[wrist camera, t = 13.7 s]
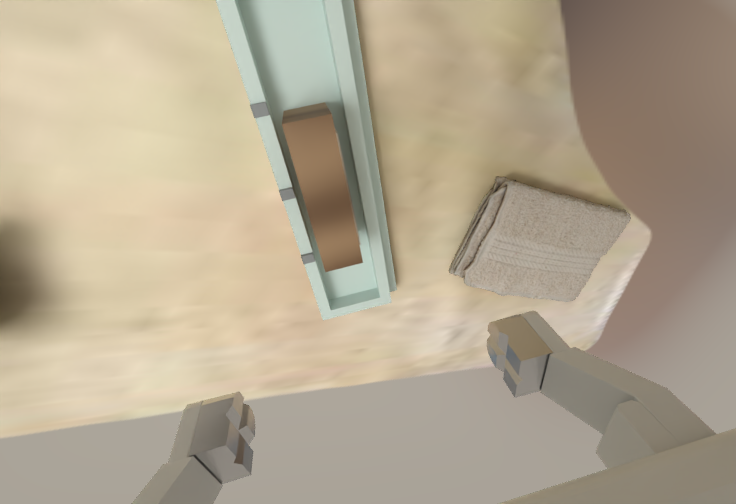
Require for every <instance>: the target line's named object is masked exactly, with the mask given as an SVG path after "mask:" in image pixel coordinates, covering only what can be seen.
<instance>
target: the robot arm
mask: <svg viewBox="0 0 736 504" xmlns="http://www.w3.org/2000/svg"><path fill="white" fill-rule="evenodd" d="M488 332H489V333H490V337H489V338H488V339H487V349H488V353H489V356H490V358H491V360H492V362H493V364H494V365H495V367H496V368H498V369H499V370H501V371H503V372H504V378H503V379H504V381H505V383H506V384H507V386H508V388H509V389H510V391H511V392H512V394H513V395H514V397H518V396H523V395H526V394H530V393H534V392H538V391H541V393H542V394H544V395H545V396H547V397H548V398H550V399H551V400H553V401H554V402H556V403H557V404H559V405H560V406H562V407H563V408H565V409H566V410H568V411H569V412H571V413H572V414H574V415H575V416H577V417H578V418H580V419H581V420H582V421H584V422H585V423H587V424H588V425H590V426H591V427H593V428H594V429H596V430H597V431H599V432H600V433H602V434H603V436H602V438H601V440H600V442H599V444H598V446H597V450H596V454H597V455H598V456H599V458H600V459H601V460H602V462H603V463H604V464H605V466H606V467H607V469H606V470H603V471H599V472H596V473H593V474H590V475H587V476H584V477H581V478H577V479H574V480H571V481H568V482H565V483H562V484H558V485H556V486H552V487H549V488H546V489H543V490H540V491H537V492H533V493H530V494H527V495H524V496H521V497H518V498H514V499H511V500H508V501H505V502H502V503H499V504H736V428H735V429H732V430H729V431H725V432H722V433H719V434H716V433H715V432H714V431H713V430H712V429H711V428H710V427H709V426H707V425H706V424H705V423H704V422H703V421H702V420H701V419H700V418H699V417H697V415H696V414H694V413H693V412H692V411H691V410H690V409H689V408H688V407H687V406H686V405H685V404H683V402H681V401H680V400H679V399H678V398H677V397H676V396H675V395H673V393H672V392H671V391H670V390H668V389H667V388H665V387H663V386H661V385H659V384H656V383H654V382H652V381H650V380H647V379H645V378H643V377H641V376H638V375H636V374H634V373H632V372H629V371H627V370H625V369H623V368H620V367H618V366H616V365H614V364H612V363H609V362H607V361H605V360H603V359H600V358H598V357H596V356H594V355H592V354H589V353H587V352H585V351H583V350H580V349H578V348H576V347H574V348H570V347H569V346H568V345H567V344H566V343H565V342H564V341H563V340H562V338H561V337H560V336H559V335H558V334H557V333H556V332H555V331H554V330H553V329H552V328H551V327H550V325H549V324H548V323H547V322H546V321H545V320H544V319H543V318H542V317H541V316H540V315H539V314H538V313H537V312H536V311H530V312H526V313H523V314H519V315H514V316H511V317H507V318H504V319H500V320H497V321H493V322H490V323H489V325H488ZM243 400H244V397H243V396H242V394H241V393H240V392H236V393H232V394H228V395H224V396H220V397H216V398H212V399H208V400H204V401H200V402H196V403H192V404H189V405H187V406H186V408H185V409H184V411H183V414H182V417H181V421H180V424H179V427H178V431H177V434H176V438H175V441H174V444H173V448H172V451H171V455H170V458H169V461H168V463H166V464H163V465H162V466H161V468H160V469H159V470H158V471H157V473H156V474H155V475H154V476H153V478H152V479H151V480H150V481H149V483H148V484H147V485H146V486H145V488H144V489H143V490H142V491H141V493H140V494H139V495H138V496H137V498H136V499H135V500H134V501H133V503H132V504H213V503H214V501H215V499H216V497H217V496H218V494H219V492H220V490H221V488H222V484H224V483H228V482H231V481H234V480H237V479H240V478H243V477H246V476H249V475H251V469H252V459H253V450H252V449H251V448H250V446H249V444H250V442H251V441H252V439H253V438H254V436H255V419H254V414H253V411H252V409H251V408H250V406H249V405H246V404H243Z"/></svg>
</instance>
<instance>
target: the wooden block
mask: <svg viewBox="0 0 736 504" xmlns="http://www.w3.org/2000/svg"><path fill="white" fill-rule="evenodd" d="M282 127H283V131H284V134H285V137H286V141H287V144H288V147H289V151H290V154H291V158H292V161H293V164H294V168H295V171H296V175H297V178H298V181H299V185H300V188H301V191H302V195H303V198H304V202H305V205H306V208H307V212H308V215H309V218H310V222H311V225H312V229H313V232H314V235H315V239H316V242H317V246H318V249H319V252H320V256H321V259H322V262H323V266H324V269H325V272H328V271H332V270H336V269H340V268H344V267H348V266H352V265H356V264H360V263H363V260H362V255H361V250H360V245H361V243H360V238H359V234H358V229H357V224H356V219H355V214H354V210H353V205H352V200H351V195H350V190H349V185H348V181H347V176H346V171H345V166H344V161H343V157H342V152H341V147H340V142H339V137H338V133H337V131H336V129H335V127H334V122H333V117H332V113H331V112H330V110H329V108H328V107H327V105H326V103H325V102H323V103H319V104H314V105H309V106H304V107H300V108H295V109H290V110H285V111H283V119H282Z"/></svg>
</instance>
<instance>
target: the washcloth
mask: <svg viewBox="0 0 736 504" xmlns="http://www.w3.org/2000/svg"><path fill="white" fill-rule="evenodd" d="M495 180H496V183H495V185H494V188H493V189H491V190H490V191H489V192H488V194H486V196H485V197H484V198H483V200H482V201H481V203H480V205H479V207H478V209H477V211H476V213H475V214H474V217H473V219H472V221H471V224H470V226H469V229H468V231H467V233H466V235H465V237H464V239H463V240H462V242H461V244H460V246H459V249H458V251H457V253H456V254H455V257H454V259H453V261H452V263H451V266H450V269H449V273H450V274H454V275H458V276H460V277H462V278H463V277H464V283H465V284H466V285H468V286H472V287H476V288H481V289H486V290H488V291H492V292H495V293H497V294H498V295H502V296H505V295H512V296H523V297H528V298H537V299H551V300H557V301H564V302H569V301H573V300H575V299H576V297H578V296H579V294H580V292H581V290H582V289H583V287H584V285H586V282H587V281H588V279H589V278H590V275H591V273H592V271H593V269H594V268H595V267H596V265H597V263H598V262H599V260H600V257H601V256H603V255H605V254H606V253H607V251H608V250H609V249H610V248H611V247H612V246H613V244H614V243H615V241H616V240H617V239H618V237H619V235H620V234H621V233H622V232H623V230H624V229H625V227H626V225H627V223H628V222H629V221H630V219H631V217H630V214H629V213H627V212H626V211H625V210H624V209H623V210H619V209H617V208H613V207H610V206H603V205H602V204H596V203H592V202H589V201H587V200H582V199H579V198H575V197H573V196H570V195H569V196H568V195H562V194H557V193H555V192H554V193H553V192H549V191H547V190H541V189H540V188H536V187H532V186H529V185H526V184H523V183H519V182H516V180H509V179H507V178H506V177H498V176H497V177H496V178H495Z"/></svg>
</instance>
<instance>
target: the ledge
mask: <svg viewBox="0 0 736 504" xmlns="http://www.w3.org/2000/svg"><path fill="white" fill-rule="evenodd" d="M216 3H217V6H218V9H219V12H220V15H221V18H222V21H223V24H224V27H225V30H226V33H227V36H228V39H229V42H230V45H231V47H232V50H233V53H234V56H235V59H236V62H237V65H238V68H239V71H240V74H241V77H242V80H243V83H244V86H245V89H246V92H247V95H248V98H249V101H250V104H251V105H250V106H251V109H252V112H253V115H254V118H255V119H256V122H257V125H258V128H259V131H260V134H261V137H262V140H263V143H264V146H265V149H266V152H267V155H268V158H269V161H270V164H271V167H272V170H273V173H274V176H275V179H276V182H277V185H278V187H279V192H280V195H281V198H282V201H283V202H284V205H285V208H286V211H287V214H288V217H289V220H290V223H291V226H292V229H293V232H294V235H295V238H296V241H297V244H298V247H299V250H300V253H301V258H302V261H303V264H304V265H305V268H306V271H307V274H308V277H309V280H310V283H311V286H312V289H313V292H314V295H315V298H316V301H317V304H318V307H319V310H320V313H321V316H322V319H323V320H326V319H330V318H334V317H338V316H342V315H346V314H349V313H353V312H357V311H361V310H365V309H368V308H372V307H376V306H380V305H384V304H388V303H391V296H390V292H392V291H395V290H397V288H396V281H395V275H394V268H393V261H392V255H391V248H390V241H389V235H388V228H387V221H386V215H385V208H384V201H383V194H382V188H381V181H380V174H379V168H378V161H377V154H376V148H375V141H374V134H373V128H372V121H371V114H370V108H369V101H368V94H367V88H366V81H365V74H364V68H363V61H362V54H361V48H360V41H359V34H358V28H357V21H356V14H355V8H354V1H353V0H216ZM323 102H325V103H326V105H327V107H328V108H329V110H330V112H331V113H332V117H333V122H334V127H335V129H336V131H337V133H338V137H339V142H340V147H341V152H342V157H343V161H344V166H345V171H346V176H347V181H348V185H349V190H350V195H351V200H352V205H353V210H354V214H355V219H356V224H357V229H358V234H359V238H360V243H361V245H360V250H361V255H362V260H363V263H360V264H356V265H352V266H348V267H344V268H340V269H336V270H332V271H328V272H325V269H324V266H323V262H322V259H321V256H320V252H319V249H318V246H317V242H316V239H315V235H314V232H313V229H312V225H311V222H310V218H309V215H308V212H307V208H306V205H305V202H304V198H303V195H302V191H301V188H300V185H299V181H298V178H297V175H296V171H295V168H294V164H293V161H292V158H291V154H290V151H289V147H288V144H287V141H286V137H285V134H284V131H283V127H282V119H283V111H285V110H290V109H295V108H300V107H304V106H309V105H314V104H319V103H323Z"/></svg>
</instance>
